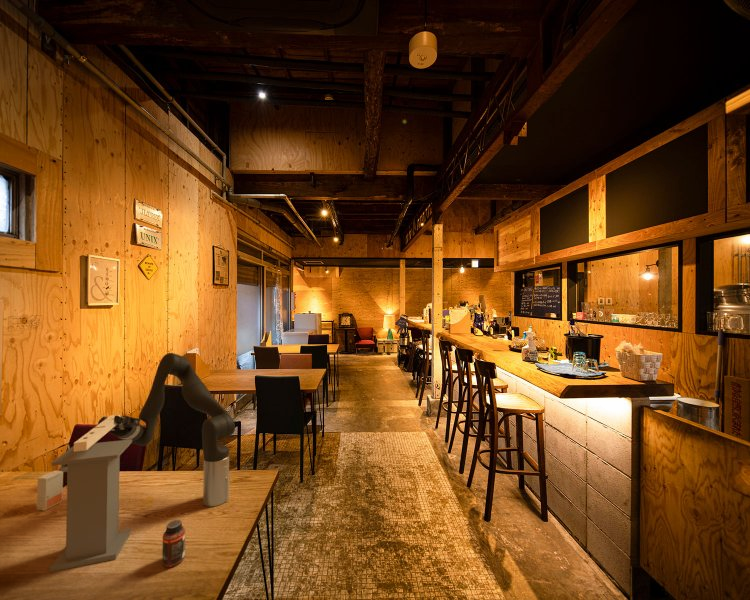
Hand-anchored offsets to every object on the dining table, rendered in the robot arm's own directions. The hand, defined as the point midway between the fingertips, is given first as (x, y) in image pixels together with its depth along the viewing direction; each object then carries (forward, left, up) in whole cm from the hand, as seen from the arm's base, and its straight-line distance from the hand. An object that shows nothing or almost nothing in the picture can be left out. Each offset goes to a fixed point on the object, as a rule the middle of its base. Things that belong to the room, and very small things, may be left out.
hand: (109, 419), depth 114 cm
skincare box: (+27, -23, -39) cm, 52 cm away
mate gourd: (+29, -40, -39) cm, 63 cm away
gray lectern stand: (0, +10, -38) cm, 40 cm away
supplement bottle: (-25, +22, -39) cm, 51 cm away
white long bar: (0, +7, -3) cm, 8 cm away
